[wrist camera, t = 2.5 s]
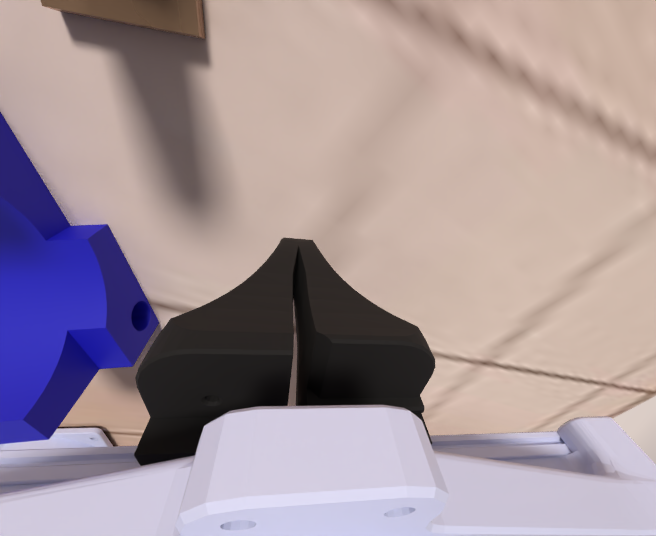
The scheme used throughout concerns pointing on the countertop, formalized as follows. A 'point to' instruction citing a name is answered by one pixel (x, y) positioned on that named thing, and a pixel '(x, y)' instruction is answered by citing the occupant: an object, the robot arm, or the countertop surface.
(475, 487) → the robot arm
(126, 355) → the cable clip
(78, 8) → the post
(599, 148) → the countertop surface
